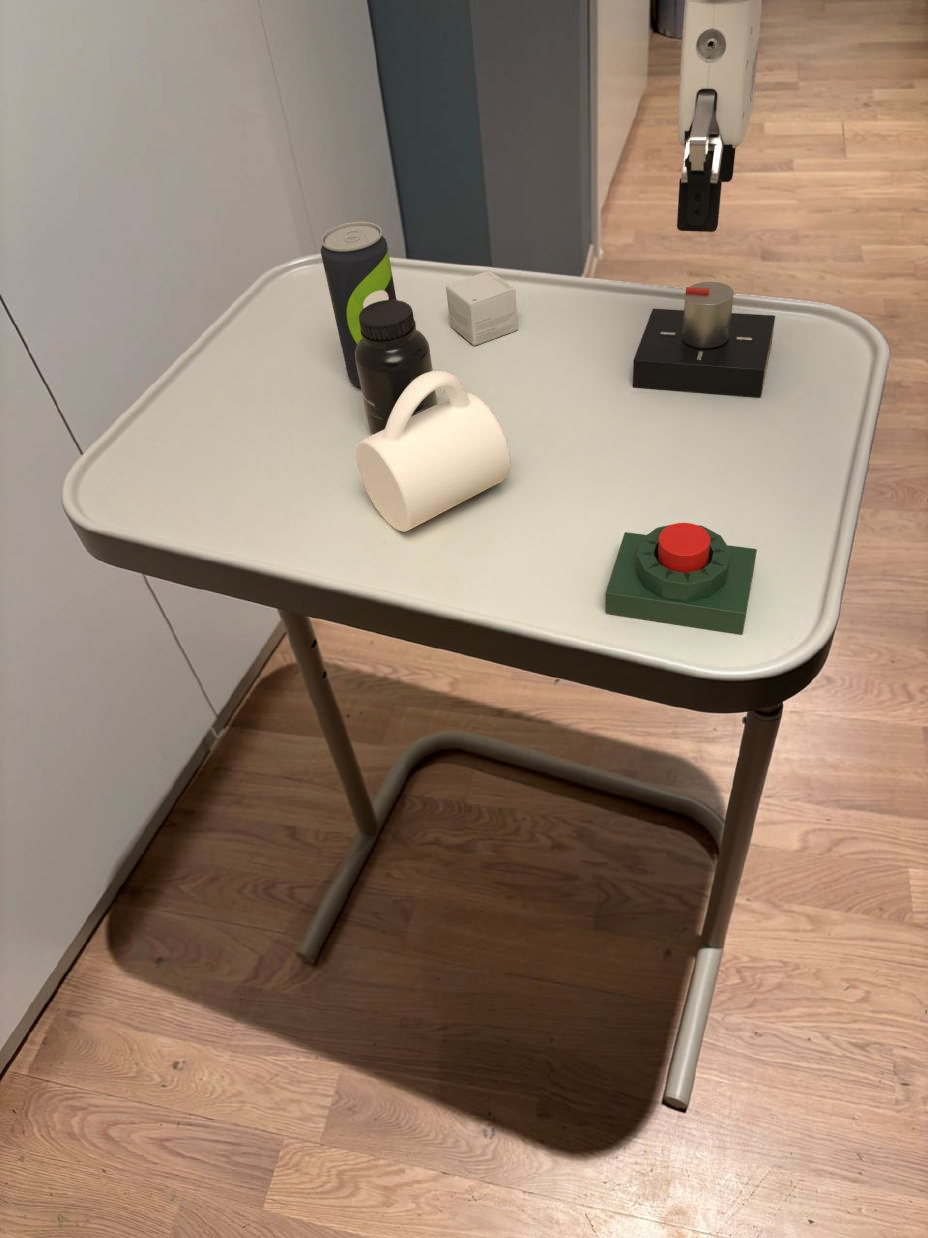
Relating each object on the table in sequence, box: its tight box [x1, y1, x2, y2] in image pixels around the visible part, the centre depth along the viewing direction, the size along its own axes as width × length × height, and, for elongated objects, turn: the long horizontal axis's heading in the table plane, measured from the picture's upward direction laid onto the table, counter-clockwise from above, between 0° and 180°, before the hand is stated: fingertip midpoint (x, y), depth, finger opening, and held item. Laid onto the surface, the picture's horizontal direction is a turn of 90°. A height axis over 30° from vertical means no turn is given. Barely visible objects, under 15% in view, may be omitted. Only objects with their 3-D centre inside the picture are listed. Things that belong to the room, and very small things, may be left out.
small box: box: [445, 270, 519, 347], centre depth 100 cm, size 6×6×5 cm
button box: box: [604, 524, 758, 635], centre depth 70 cm, size 10×7×4 cm
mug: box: [355, 370, 511, 533], centre depth 78 cm, size 8×10×12 cm
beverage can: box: [320, 221, 397, 389], centre depth 92 cm, size 6×6×15 cm
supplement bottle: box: [355, 299, 438, 435], centre depth 86 cm, size 7×7×12 cm
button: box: [658, 522, 710, 573], centre depth 68 cm, size 4×4×2 cm
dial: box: [682, 281, 735, 348], centre depth 89 cm, size 4×4×5 cm
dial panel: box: [632, 307, 776, 398], centre depth 91 cm, size 12×10×3 cm
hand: (705, 203), depth 79 cm, fingers open, 9 cm apart
